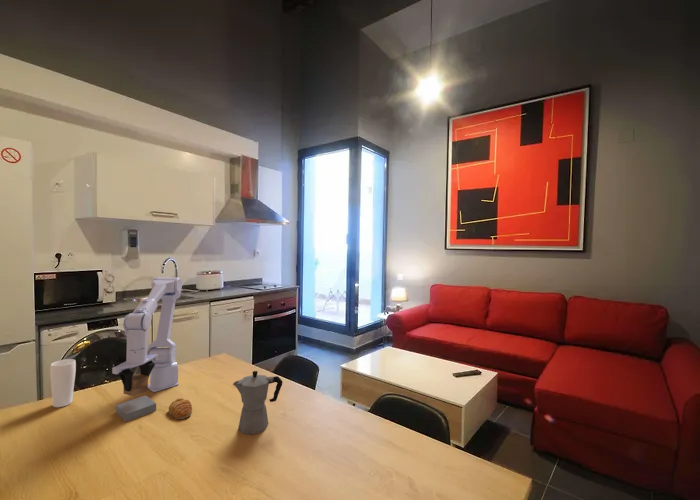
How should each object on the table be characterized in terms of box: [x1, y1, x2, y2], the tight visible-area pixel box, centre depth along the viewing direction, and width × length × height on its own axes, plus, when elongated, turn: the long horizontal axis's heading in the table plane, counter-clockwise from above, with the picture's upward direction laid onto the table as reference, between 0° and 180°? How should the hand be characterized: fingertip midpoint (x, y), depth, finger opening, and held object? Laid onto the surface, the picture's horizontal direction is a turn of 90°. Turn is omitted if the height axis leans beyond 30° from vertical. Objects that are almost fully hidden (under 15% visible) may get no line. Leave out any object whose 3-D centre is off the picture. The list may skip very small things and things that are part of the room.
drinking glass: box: [49, 358, 77, 408], centre depth 112 cm, size 7×7×15 cm
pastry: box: [168, 397, 193, 420], centre depth 109 cm, size 9×7×4 cm
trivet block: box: [115, 394, 157, 423], centre depth 109 cm, size 9×9×3 cm
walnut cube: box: [123, 373, 149, 397], centre depth 109 cm, size 5×5×5 cm
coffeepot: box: [232, 370, 283, 435], centre depth 103 cm, size 15×9×18 cm, turn 107°
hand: (136, 387), depth 109 cm, fingers closed on walnut cube, 5 cm apart
